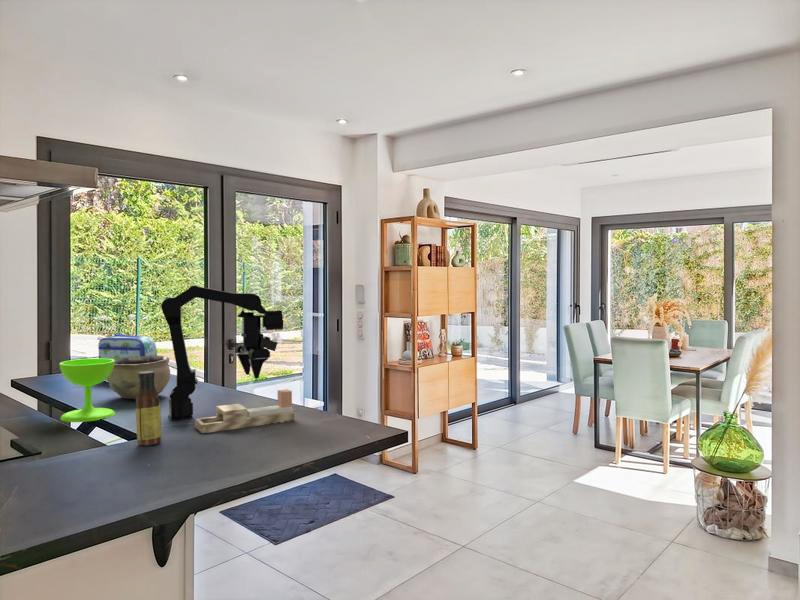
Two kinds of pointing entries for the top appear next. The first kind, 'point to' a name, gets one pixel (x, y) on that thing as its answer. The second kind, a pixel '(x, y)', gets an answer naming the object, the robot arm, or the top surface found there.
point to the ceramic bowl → (127, 374)
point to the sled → (282, 406)
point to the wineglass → (87, 386)
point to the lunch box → (126, 347)
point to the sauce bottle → (148, 411)
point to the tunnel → (236, 419)
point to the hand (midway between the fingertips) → (252, 376)
